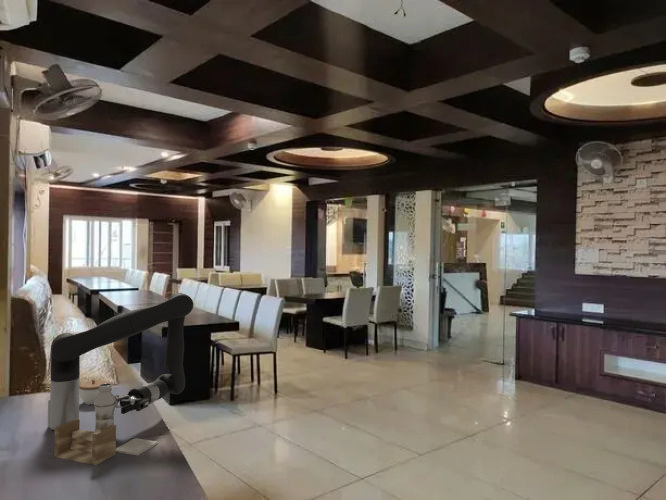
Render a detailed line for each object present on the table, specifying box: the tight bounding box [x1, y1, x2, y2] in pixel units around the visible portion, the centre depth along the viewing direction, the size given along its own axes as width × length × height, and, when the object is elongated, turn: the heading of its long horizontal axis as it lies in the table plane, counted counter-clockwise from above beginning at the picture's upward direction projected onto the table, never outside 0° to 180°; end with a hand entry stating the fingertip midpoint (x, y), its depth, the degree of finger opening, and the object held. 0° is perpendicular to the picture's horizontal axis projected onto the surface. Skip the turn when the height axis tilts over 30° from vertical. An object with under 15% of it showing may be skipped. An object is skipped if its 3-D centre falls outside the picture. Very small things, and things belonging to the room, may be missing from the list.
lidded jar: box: [79, 379, 109, 406], centre depth 203 cm, size 11×11×9 cm
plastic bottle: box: [93, 383, 116, 432], centre depth 160 cm, size 6×7×20 cm
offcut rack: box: [53, 418, 117, 466], centre depth 152 cm, size 16×8×9 cm, turn 73°
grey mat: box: [116, 437, 159, 456], centre depth 159 cm, size 9×10×1 cm
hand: (111, 409), depth 162 cm, fingers open, 8 cm apart
